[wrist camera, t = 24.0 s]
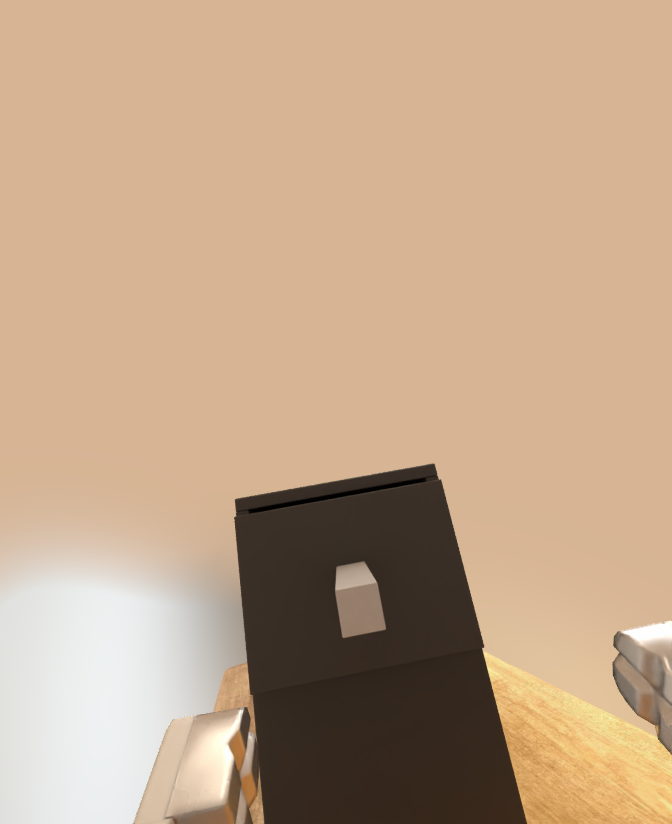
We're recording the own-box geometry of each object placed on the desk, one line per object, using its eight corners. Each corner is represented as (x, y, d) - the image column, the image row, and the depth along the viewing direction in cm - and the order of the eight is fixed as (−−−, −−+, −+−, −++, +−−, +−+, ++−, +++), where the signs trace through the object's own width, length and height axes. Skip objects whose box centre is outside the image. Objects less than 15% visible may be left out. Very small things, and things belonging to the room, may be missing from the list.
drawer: (568, 723, 15) (489, 459, 18) (197, 802, 14) (182, 514, 18) (438, 608, 35) (411, 491, 38) (279, 639, 34) (265, 517, 38)
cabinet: (590, 1071, 19) (434, 463, 29) (293, 1147, 18) (234, 498, 28) (496, 864, 31) (407, 479, 40) (311, 907, 30) (265, 505, 39)
